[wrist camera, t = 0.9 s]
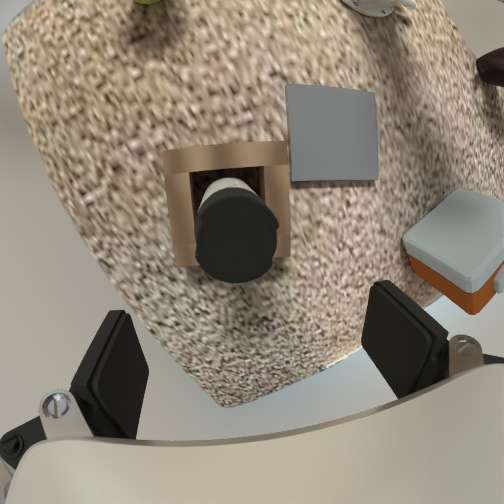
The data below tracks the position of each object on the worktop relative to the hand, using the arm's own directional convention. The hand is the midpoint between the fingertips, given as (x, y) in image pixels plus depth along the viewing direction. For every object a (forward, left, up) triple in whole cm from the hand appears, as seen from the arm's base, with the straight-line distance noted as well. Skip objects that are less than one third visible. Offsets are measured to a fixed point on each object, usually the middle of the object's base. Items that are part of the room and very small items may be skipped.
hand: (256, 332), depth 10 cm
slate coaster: (-16, -9, -30) cm, 35 cm away
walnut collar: (0, 0, -30) cm, 30 cm away
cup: (-57, -30, -30) cm, 71 cm away
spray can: (0, 0, -30) cm, 30 cm away
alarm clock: (-39, +7, -30) cm, 50 cm away
